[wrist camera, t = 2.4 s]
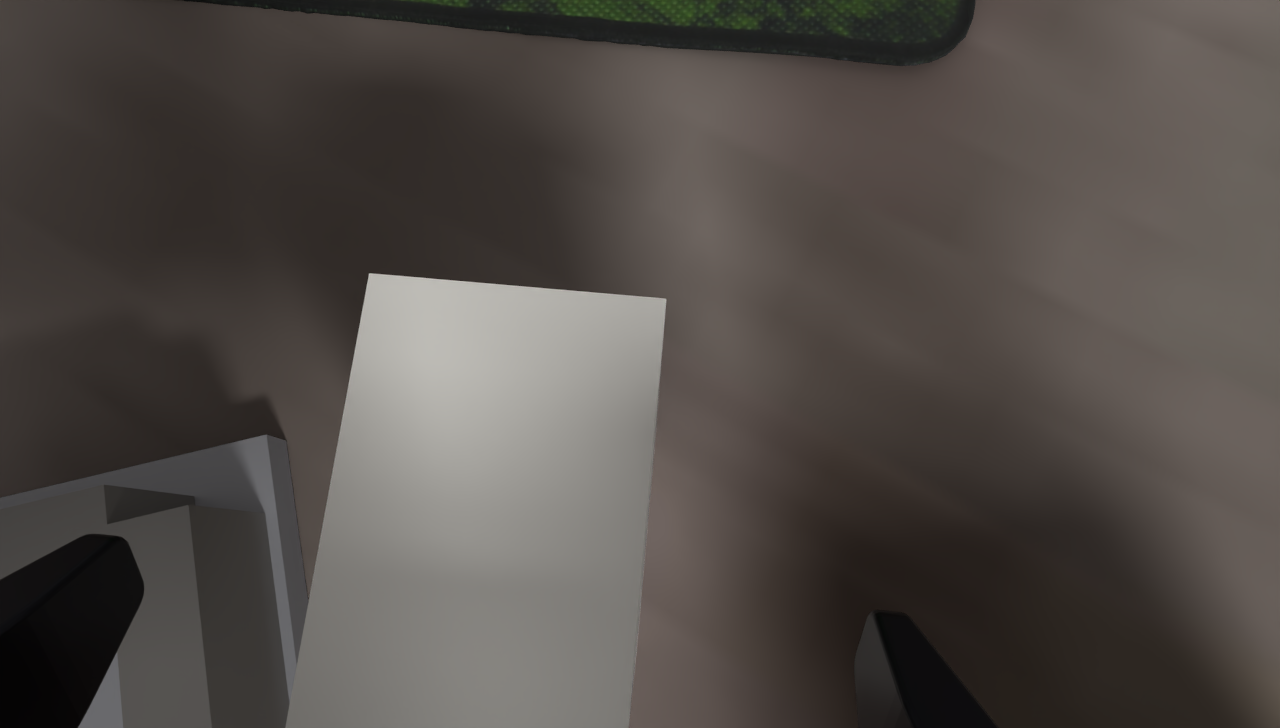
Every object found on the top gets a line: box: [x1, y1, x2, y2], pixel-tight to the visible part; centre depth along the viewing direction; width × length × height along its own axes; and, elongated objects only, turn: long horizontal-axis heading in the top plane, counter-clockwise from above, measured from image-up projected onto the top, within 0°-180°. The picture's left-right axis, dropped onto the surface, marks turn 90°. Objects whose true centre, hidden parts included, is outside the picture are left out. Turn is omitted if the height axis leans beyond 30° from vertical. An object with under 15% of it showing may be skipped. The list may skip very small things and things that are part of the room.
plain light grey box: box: [285, 273, 666, 728], centre depth 13 cm, size 5×4×10 cm
